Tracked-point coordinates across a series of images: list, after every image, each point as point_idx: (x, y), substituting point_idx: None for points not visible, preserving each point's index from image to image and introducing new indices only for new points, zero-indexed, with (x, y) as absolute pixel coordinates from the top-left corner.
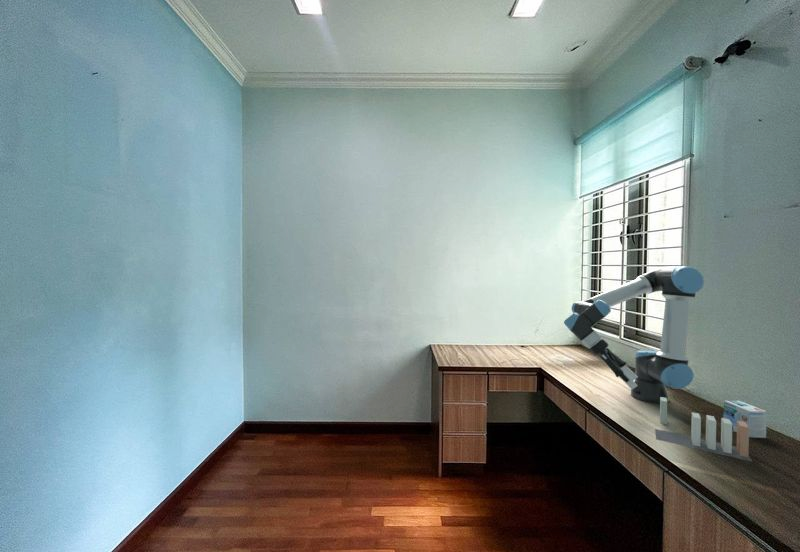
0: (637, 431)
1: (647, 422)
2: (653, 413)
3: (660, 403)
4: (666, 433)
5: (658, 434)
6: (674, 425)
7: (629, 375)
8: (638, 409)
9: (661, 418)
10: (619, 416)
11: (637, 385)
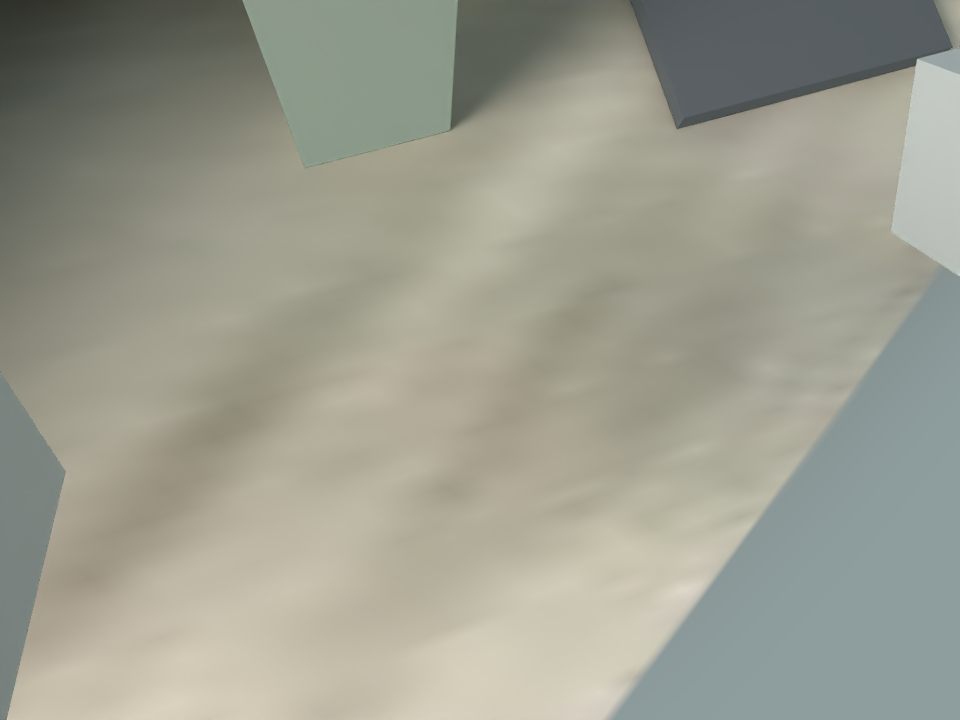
0: (855, 245)
1: (488, 247)
2: (90, 284)
3: (338, 12)
4: (713, 11)
5: (812, 58)
6: None
7: (4, 561)
8: (83, 461)
9: (449, 81)
10: (577, 537)
11: (947, 54)
